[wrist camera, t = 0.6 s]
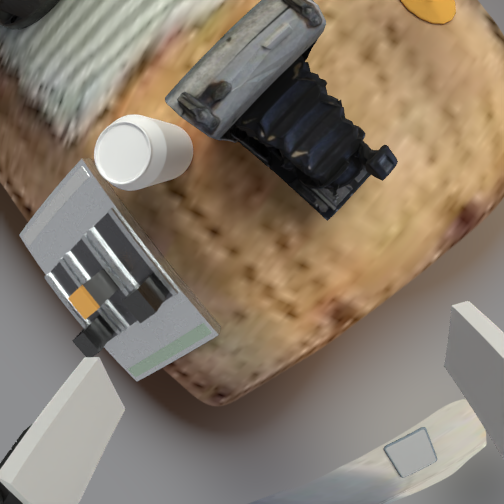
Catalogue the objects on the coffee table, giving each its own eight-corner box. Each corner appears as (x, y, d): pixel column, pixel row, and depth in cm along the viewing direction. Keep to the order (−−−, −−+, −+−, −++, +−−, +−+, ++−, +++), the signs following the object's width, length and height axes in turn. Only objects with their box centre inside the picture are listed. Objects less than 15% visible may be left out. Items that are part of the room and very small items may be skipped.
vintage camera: (315, 218, 35) (379, 296, 16) (208, 124, 32) (148, 94, 13) (373, 155, 33) (487, 170, 14) (268, 60, 30) (282, -36, 11)
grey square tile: (425, 426, 44) (438, 460, 47) (423, 423, 45) (436, 457, 48) (382, 448, 45) (401, 478, 48) (381, 444, 46) (400, 475, 49)
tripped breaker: (91, 279, 36) (67, 298, 31) (103, 268, 35) (79, 286, 30) (106, 298, 37) (85, 319, 31) (118, 288, 36) (97, 309, 31)
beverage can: (144, 123, 33) (90, 113, 21) (198, 125, 32) (163, 112, 21) (140, 177, 34) (85, 191, 23) (192, 181, 34) (156, 196, 23)
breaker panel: (27, 231, 37) (-5, 245, 30) (90, 157, 34) (57, 161, 27) (141, 373, 42) (124, 404, 36) (221, 326, 39) (212, 359, 33)
